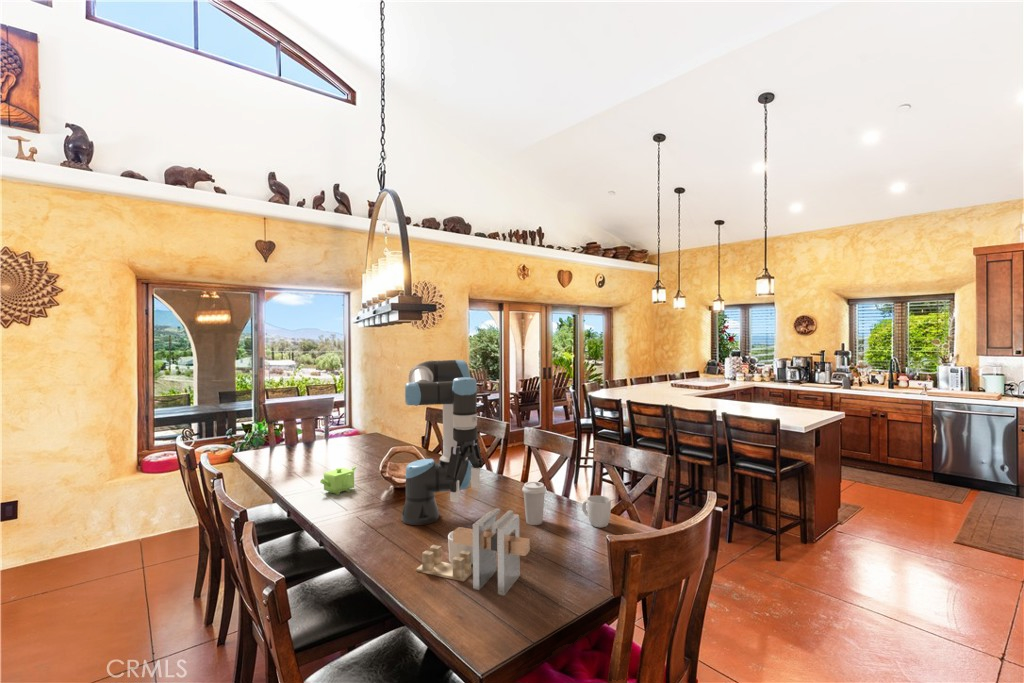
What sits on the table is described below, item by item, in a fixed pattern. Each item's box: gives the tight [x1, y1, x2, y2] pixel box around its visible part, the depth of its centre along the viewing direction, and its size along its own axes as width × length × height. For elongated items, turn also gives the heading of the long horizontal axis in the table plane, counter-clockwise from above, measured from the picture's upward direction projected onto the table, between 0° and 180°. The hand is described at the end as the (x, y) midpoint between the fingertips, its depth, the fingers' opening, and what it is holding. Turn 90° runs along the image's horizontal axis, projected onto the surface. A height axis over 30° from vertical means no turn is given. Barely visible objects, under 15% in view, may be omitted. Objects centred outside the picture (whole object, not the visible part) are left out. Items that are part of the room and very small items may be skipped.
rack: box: [416, 544, 473, 582], centre depth 148 cm, size 17×7×6 cm, turn 67°
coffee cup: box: [521, 481, 547, 526], centre depth 187 cm, size 10×10×15 cm
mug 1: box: [447, 530, 473, 565], centre depth 157 cm, size 13×10×8 cm
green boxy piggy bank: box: [320, 465, 358, 496], centre depth 226 cm, size 15×14×11 cm
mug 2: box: [581, 495, 612, 529], centre depth 185 cm, size 13×9×10 cm
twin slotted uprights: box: [472, 507, 521, 596], centre depth 141 cm, size 10×12×20 cm
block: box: [453, 526, 531, 557], centre depth 142 cm, size 24×4×4 cm, turn 67°
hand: (465, 494), depth 147 cm, fingers open, 13 cm apart
